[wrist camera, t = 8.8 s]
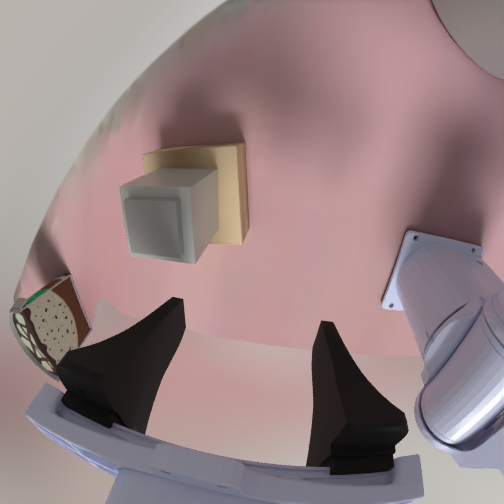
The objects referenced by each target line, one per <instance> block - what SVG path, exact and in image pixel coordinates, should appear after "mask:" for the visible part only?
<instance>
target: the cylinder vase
mask: <svg viewBox="0 0 504 504" xmlns="http://www.w3.org/2000/svg"><path fill="white" fill-rule="evenodd" d="M432 2H433V5H434V7H435V9H436V12H437V14H438V16H439V18H440V19H441V21H442V23H443V25H444V26H445V28H446V29H447V31H448V32H449V34H450V35H451V37H452V38H453V39H454V41H455V42H456V43H457V44H458V46H459V47H460V48H461V49H462V50H463V51H464V52H465V53H466V55H467V56H468V57H469V58H470V59H471V60H473V61H474V62H475V63H476V64H477V65H478V66H479V67H481V68H482V69H483V70H485V71H486V72H488V73H489V74H491V75H493V76H494V77H496V78H499V79H501V80H504V0H432Z"/></svg>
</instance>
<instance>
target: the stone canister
mask: <svg viewBox="0 0 504 504" xmlns="http://www.w3.org/2000/svg"><path fill="white" fill-rule="evenodd" d="M120 193H121V202H122V209H123V216H124V223H125V230H126V236H127V242H128V247H129V253H130V256H136V257H143V258H151V259H159V260H167V261H175V262H183V263H191V264H196V262H197V261H198V259H199V258H200V256H201V255H202V253H203V252H204V250H205V249H206V247H207V246H208V244H209V243H210V241H211V240H212V239H213V237H214V236H215V234H216V233H217V231H218V230H219V222H218V169H202V168H159V169H157V170H154V171H152V172H150V173H148V174H145V175H143V176H141V177H139V178H137V179H134V180H132V181H130V182H128V183H126V184H124V185H122V186H120Z"/></svg>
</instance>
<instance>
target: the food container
mask: <svg viewBox="0 0 504 504" xmlns="http://www.w3.org/2000/svg"><path fill="white" fill-rule="evenodd" d="M8 322H9V326H10V329H11V331H12V333H13V335H14V337H15V339H16V341H17V342H18V344H19V345H20V346H21V348H22V349H23V351H24V352H25V353H26V355H27V356H28V357H29V358H30V359H31V360H32V361H33V362H34V363H35V364H36V365H37V366H38V367H39V368H40V369H41V370H42V371H43V372H44V373H46V374H47V375H48V376H50V377H51V378H53V379H54V380H56V381H58V382H59V381H60V379H59V377H58V375H57V373H56V369H55V368H56V366H57V364H58V363H59V362H60V360H61V359H62V358H63V356H64V355H65V354H66V353H67V351H69V350H74V349H78V348H80V347H81V346H82V344H83V343H84V341H85V340H86V338H87V337H88V335H89V334H90V332H91V331H92V327H91V325H90V323H89V320H88V318H87V316H86V313H85V311H84V308H83V306H82V303H81V300H80V298H79V295H78V292H77V290H76V287H75V284H74V281H73V278H72V275H71V274H67V273H65V274H63V275H61V276H59V277H58V278H56V279H55V280H53V281H52V282H50V283H49V284H47V285H46V286H45V287H43V288H42V289H40V290H39V291H38V292H36V293H35V294H33V295H32V296H31V297H29V298H28V299H25V298H19V299H17V301H16V302H15V304H14V305H13V307H12V308H11V310H10V313H9V315H8Z"/></svg>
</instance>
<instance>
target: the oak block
mask: <svg viewBox="0 0 504 504" xmlns="http://www.w3.org/2000/svg"><path fill="white" fill-rule="evenodd" d="M142 156H143V164H144V172H145V174H148V173H150V172H152V171H154V170H157V169H159V168H202V169H218V222H219V230H218V231H217V233H216V234H215V236H214V237H213V239H212V240H211V241H210V243H209V244H240V245H242V243H243V241H244V239H245V237H246V234H247V232H248V230H249V211H248V190H247V168H246V147H245V142H243V143H222V144H207V145H194V146H184V147H174V148H165V149H160V150H156V151H153V152H150V153H146V154H143V155H142Z"/></svg>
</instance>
